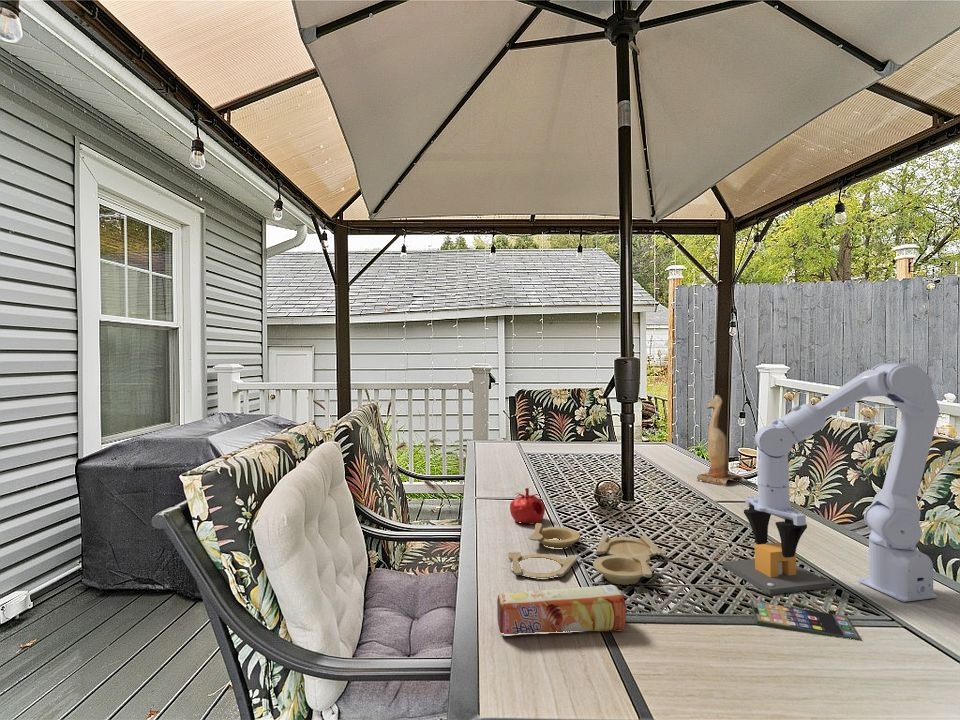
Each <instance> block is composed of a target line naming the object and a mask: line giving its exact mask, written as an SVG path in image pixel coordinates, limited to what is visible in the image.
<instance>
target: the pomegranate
mask: <svg viewBox="0 0 960 720" xmlns="http://www.w3.org/2000/svg"><path fill="white" fill-rule="evenodd" d="M524 490H525V495H524V494H522V493H519V492H517V493H516V497H515V498H514V499H513V500H511V502H510V505H509V512H510V515H511V517H512V519H513V520H514V521H515V522H516V521H517V522H516V523H518V522H521V523H538V522H539V523H541V521H542V520H543V519H544V515H545V511H546V506H545V504H544V502H542V499H540V498H538V497H537V496H539V497H541V495H540V494H537V493H535V494H530V491H529V490H530V488H529V487H525V489H524Z"/></svg>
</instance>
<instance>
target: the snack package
mask: <svg viewBox="0 0 960 720" xmlns="http://www.w3.org/2000/svg"><path fill="white" fill-rule="evenodd" d="M626 608H627V606H626V601H625V598H624V596H623V594H622V593H621V591H620V590H619V588H618V587H617V586H616V585H613V584H607V585H596V586H594V585H593V586H582V587H573V588H572V587H571V588H556V589H555V588H554V589H545V590H544V589H542V590H541V589H540V590H529V591H522V592H521V591H520V592H501V593H499V594H498V595H497V600H496V609H497V610H496V611H497V614H496V616H497V617H496V618H497V624H498V629H499V633H500V632H501V633H504V634H518V633H535V632H556V631H557V632H563V631H565V632H566V631H567V632H568V631H569V632H570V631H599V632H612V631H611V630H617V631H616V632H619V631H618V630H622V631H623V630H624V629H625V626H626V622H627V609H626ZM609 630H610V631H609ZM501 633H500V634H501Z"/></svg>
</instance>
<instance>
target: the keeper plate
mask: <svg viewBox="0 0 960 720" xmlns="http://www.w3.org/2000/svg"><path fill="white" fill-rule="evenodd" d="M722 568H724V569H726V570H728V571H729V572H731V573H733V574H734V575H736V576H737V577H739V578H741V579H742V580H744V581H746V582H748V583H750V584H751V585H753V586H754V587H757V588H758V589H760V590H762V591H763V592H765V593H766V594H768V595H778V594H786V593H787V594H788V593H796V592H803V591H811V590H813V591H814V590H821V589H829V588H832V584H833V583H832V581H830V580H828V579H825V578H824V577H821V576H819V575H817V574H815V573H813V572H812V571H809V570H807V569H805V568H803V567H801V566H799V565H797V564H796V575H787V574H785V573H783V572H782V562H781V561H780V562H778V577H769V576H767V575H766V574H764V573H762V572H760V571H758V570H756V569H755V558H749V559H741V560H740V559H739V560H730V561H722Z"/></svg>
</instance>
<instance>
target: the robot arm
mask: <svg viewBox="0 0 960 720" xmlns="http://www.w3.org/2000/svg"><path fill="white" fill-rule="evenodd" d="M932 384H933V378H932V377H931V376H929V375H928V374H927V373H926V372H925V371H924V370H923V368H921V367H920V366H918V365H916V364H914V363H910V362H909V363H907V362H906V363H905V362H904V363H893V362H882V363H879V364H877V365H875V366H873V367H872V368H871V369H867V370H864V371H863V372H861V373H860V374H858V375H857V376H855V377H853V378H852V379H851V380H849V381H848V382H846V383H845V384H843V385H842V386H840V387H839V388H837V389H836V390H835V391H833V392H832V393H830V394H828V395H827V396H825V397H824V398H823V399H821V400H819V401H818V402H817V403H815V404H808V403H804V404H802V405H798V404H795V405H793V406H792V407H791V411H790V412H789V413H787V414H786V415H784V416H782V417H780V418H779V419H775V418H774V419H772V420H770V423H771V424H772V425H764V426H762V427H760V428H759V429H758V430H757V431H756V433H755V436H754V438H753V443H754V445H755V446H756V448H758V449H757V461H756V463H757V464H756V465H757V467H756V468H757V497H755V496H747V497H745V506H746V507H748V508H747V509H744V510H743V514H744V515H745V517H746V518H747V520H748V523H749V525H750V527H751V530H752V534H753V537H754V541H755V545H760V544H768V543H767V542H768V536H769V534H768V533H769V525H770V524H769V523H770V520H771V516H774V517H777V518H779V519H782V520H784V521H776V522H775V523H774V524H775V526H776V528H777V531H778V535H779V538H780V543H781V548H782V554H783V557H785V558H788V557H794V555H795V551H796V552H797V548H798V544H799V542H800V540H801V538H802V536H803V534H804V533H805V531H806V530H807V529H808V524H807V523H806V522H807V521H806V520H807V519H806V517H807V515H805V514H803V513H801V512H799V511H798V510H796V509H795V508H793V507H791V506H790V504H791V503H790V472H789V471H790V468H789V467H790V466H789V465H790V464H789V453H790V452H791V451H792V449H793V445H797V444H799V443H800V442H801V441H804V440H806V439H807V438H809V437H810V436H812V435H813V434H815V433H817V432H818V431H820V430H821V429H824V428H825V426H826V422H827V418H829V417H831V416H833V415H834V414H837V413H839V412H840V411H842V410H844V409H845V408H848V407H849V406H851V405H853V404H855V403H857V402H859V401H860V400H863V398H867V397H885V398H887V399H889V400H890V401H891V402H892V403H893V404H894V406H895V407H896V408H897V409H898V410H899V411H900V413H901V418H900V421H899V424H898V429H897V432H896V435H895V440H894V444H893V449H892V451H891V455H890V459H889V463H888V467H887V470H886V475H885V479H884V482H883V486H882V489H881V490H880V491H879V492H877V493H876V494H875V495H874V498H873V501H872V503H871V504H870V505H869V506H868V507H867V508H866V509H865V511H864V514H863V517H864V518H863V519H864V522H865V524H866V525H867V527H868V529H870V533H869V536H868V560H869V561H868V562H869V563H868V565H869V567H868V569H869V571H868V572H869V573H868V574H869V575H868V576H869V577H862V578H858V579H857V581H858V582H859V583H861V584H864V585H866V586H867V587H870V588H872V589H874V590H876V591H878V592H881V593H883V594H884V595H887V596H889V597H891V598H894V599H896V600H899V601H901V602H906V603H907V602H911V601H920V600H929V599H936V598H937V597H938V595H937V594H935V593H934V565H933V561H932V560H931V558H930V556H929V555H928V554H925V553H923V552H922V551H920V550H919V549H918V548H917V544H918V543H919V542H920V541H921V539H922V536H923V535H922V527H921V523H920V519H921V515H922V514H921V513H922V512H921V510H920V507H919V503H918V502H917V497H918V494H919V490H920V488H921V487H920V486H921V482H922V479H923V474H924V471H925V468H926V463H927V461H928V457H929V452H930V449H931V445H932V442H933V439H934V438H933V437H934V434H935V430H936V427H937V423H938V419H939V415H940V410H941V409H940V405H939V403H938V401H937V398H936V395H935V393H934V390H933V387H932Z"/></svg>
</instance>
